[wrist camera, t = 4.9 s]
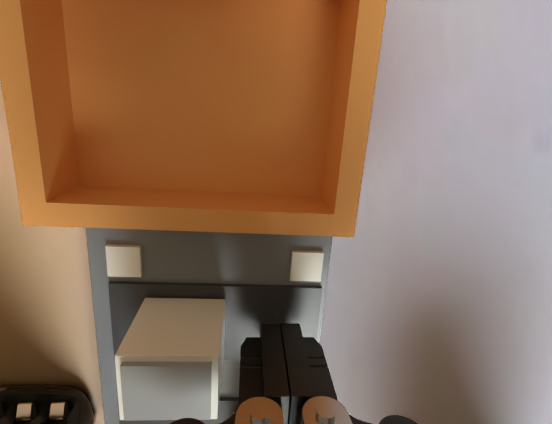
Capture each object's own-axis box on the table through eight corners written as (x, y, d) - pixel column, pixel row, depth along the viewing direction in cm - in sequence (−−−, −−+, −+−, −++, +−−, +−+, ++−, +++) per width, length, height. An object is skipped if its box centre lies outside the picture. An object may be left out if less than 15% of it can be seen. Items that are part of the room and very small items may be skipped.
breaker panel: (106, 206, 15) (82, 224, 12) (322, 215, 15) (334, 233, 13) (124, 432, 18) (107, 476, 16) (298, 430, 19) (305, 471, 17)
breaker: (145, 297, 13) (112, 360, 10) (225, 299, 14) (218, 360, 10) (147, 350, 14) (117, 425, 11) (224, 351, 14) (216, 424, 11)
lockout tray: (40, -48, 12) (-26, -95, 9) (361, -16, 13) (393, -49, 10) (67, 200, 14) (22, 225, 12) (334, 211, 15) (353, 237, 12)
